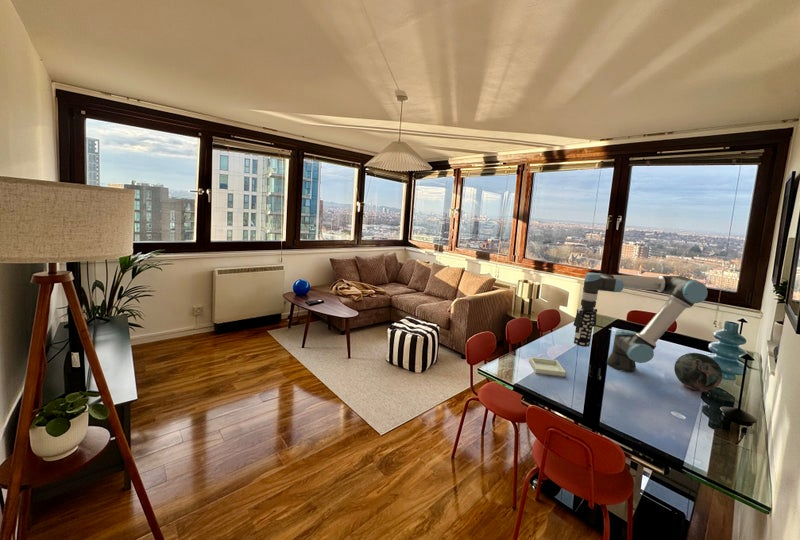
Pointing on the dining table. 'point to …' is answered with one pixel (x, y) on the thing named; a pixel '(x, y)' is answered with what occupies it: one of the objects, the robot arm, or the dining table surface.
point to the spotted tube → (585, 329)
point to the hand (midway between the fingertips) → (582, 337)
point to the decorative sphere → (698, 371)
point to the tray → (547, 366)
